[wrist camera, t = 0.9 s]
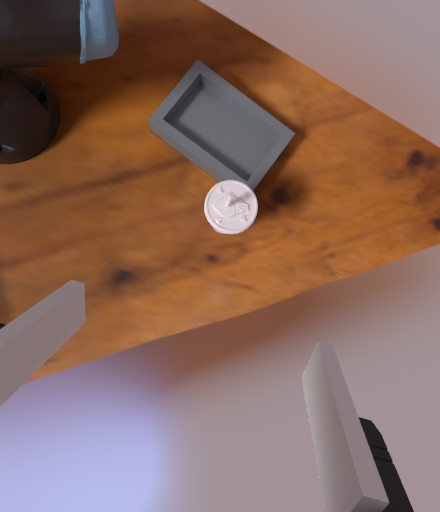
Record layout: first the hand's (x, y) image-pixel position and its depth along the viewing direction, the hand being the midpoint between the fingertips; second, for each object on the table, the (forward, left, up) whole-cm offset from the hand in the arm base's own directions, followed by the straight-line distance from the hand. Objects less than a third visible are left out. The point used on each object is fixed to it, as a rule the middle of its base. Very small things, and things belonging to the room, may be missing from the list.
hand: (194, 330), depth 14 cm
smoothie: (-3, +11, -25) cm, 27 cm away
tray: (-11, +22, -25) cm, 35 cm away
